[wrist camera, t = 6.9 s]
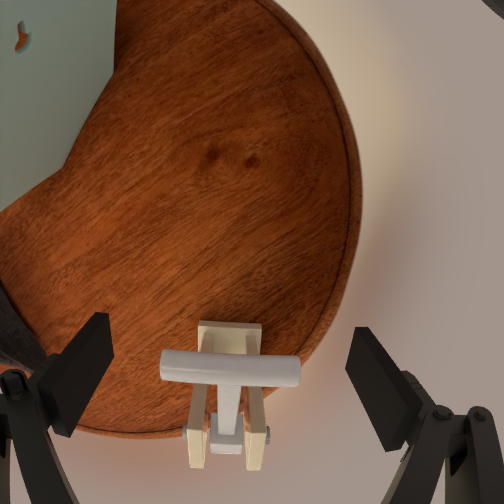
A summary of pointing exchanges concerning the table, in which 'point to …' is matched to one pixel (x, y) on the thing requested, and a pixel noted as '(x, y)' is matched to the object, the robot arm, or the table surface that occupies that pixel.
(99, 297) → the table surface
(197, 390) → the faucet bracket
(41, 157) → the planter
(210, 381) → the faucet handle
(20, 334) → the rock
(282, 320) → the table surface
